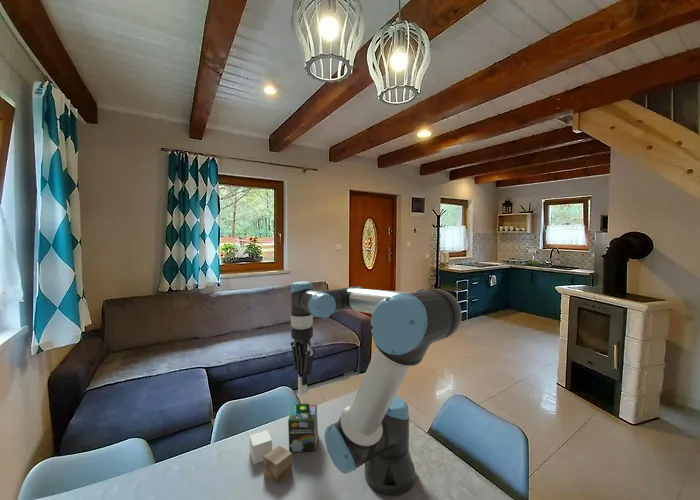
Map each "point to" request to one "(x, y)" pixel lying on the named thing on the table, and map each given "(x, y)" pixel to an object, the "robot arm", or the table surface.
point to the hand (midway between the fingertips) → (302, 392)
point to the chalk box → (303, 428)
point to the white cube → (260, 446)
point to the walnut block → (277, 464)
